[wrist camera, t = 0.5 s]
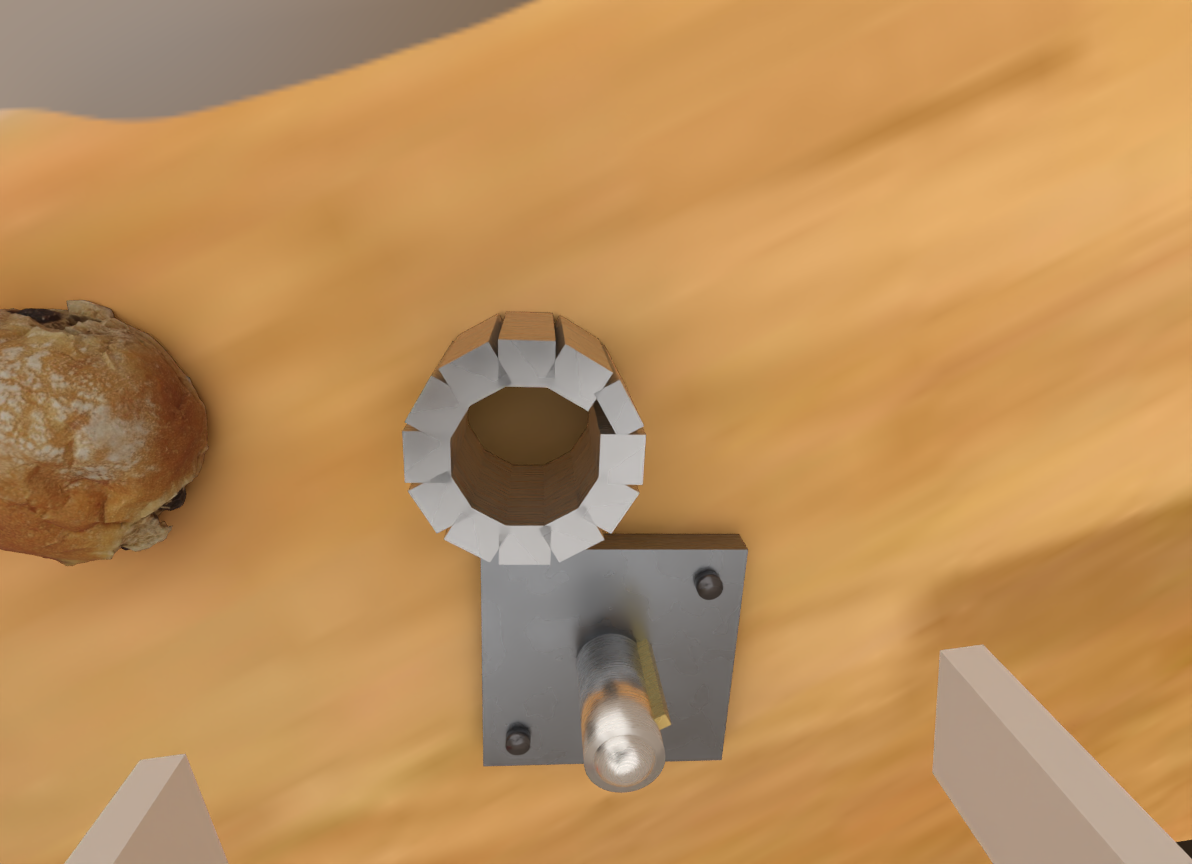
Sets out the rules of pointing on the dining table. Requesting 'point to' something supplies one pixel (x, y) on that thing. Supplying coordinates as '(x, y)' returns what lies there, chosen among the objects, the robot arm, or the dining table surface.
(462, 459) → the tube
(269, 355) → the dining table surface
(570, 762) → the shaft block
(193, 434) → the bread roll
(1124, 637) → the dining table surface
